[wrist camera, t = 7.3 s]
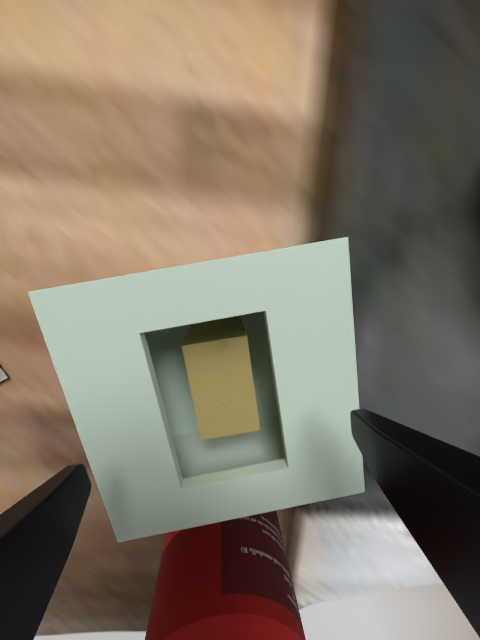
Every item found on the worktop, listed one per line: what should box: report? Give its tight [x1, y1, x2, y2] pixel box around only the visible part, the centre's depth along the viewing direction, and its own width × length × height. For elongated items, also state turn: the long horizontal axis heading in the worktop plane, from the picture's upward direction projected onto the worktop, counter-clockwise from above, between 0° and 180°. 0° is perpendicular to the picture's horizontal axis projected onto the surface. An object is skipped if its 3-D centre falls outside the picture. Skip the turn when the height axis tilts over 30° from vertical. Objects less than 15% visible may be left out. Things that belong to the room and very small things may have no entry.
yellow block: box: [182, 315, 260, 440], centre depth 15 cm, size 3×5×5 cm, turn 8°
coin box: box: [28, 237, 365, 543], centre depth 15 cm, size 12×12×7 cm
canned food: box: [145, 510, 305, 640], centre depth 15 cm, size 8×8×11 cm
